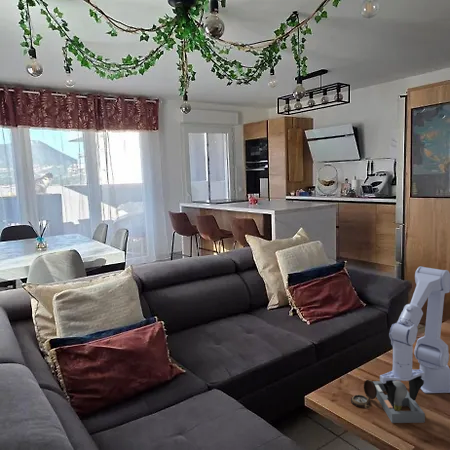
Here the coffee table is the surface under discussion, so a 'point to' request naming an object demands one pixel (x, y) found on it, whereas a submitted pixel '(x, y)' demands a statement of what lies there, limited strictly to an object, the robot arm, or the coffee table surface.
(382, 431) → the coffee table surface
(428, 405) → the coffee table surface
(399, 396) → the light bulb
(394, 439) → the coffee table surface
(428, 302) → the robot arm
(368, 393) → the compass
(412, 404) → the socket block
